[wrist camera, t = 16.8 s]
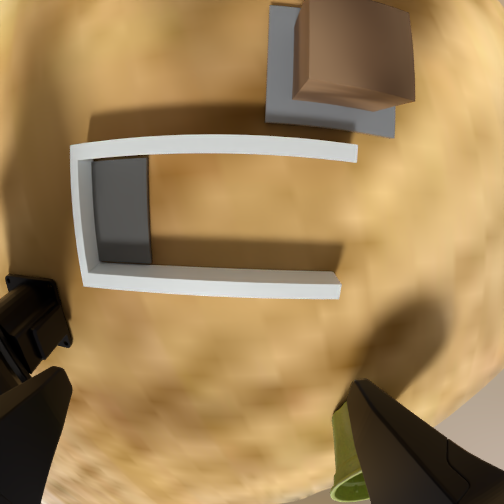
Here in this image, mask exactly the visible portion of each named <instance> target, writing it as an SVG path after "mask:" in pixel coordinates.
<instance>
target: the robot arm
mask: <svg viewBox="0 0 504 504" xmlns="http://www.w3.org/2000/svg"><path fill="white" fill-rule="evenodd" d="M5 280H6V284H7V288H8V291H9V292H8V293H7V294H6V295H4V296H3V297H2V298H1V299H0V504H41V500H42V496H43V492H44V488H45V484H46V481H47V477H48V473H49V470H50V467H51V463H52V460H53V457H54V454H55V451H56V448H57V444H58V442H59V439H60V436H61V433H62V430H63V426H64V422H65V418H66V414H67V410H68V406H69V402H70V399H71V395H72V385H71V383H70V381H69V379H68V376H67V374H66V372H65V370H64V369H63V368H61V367H56V366H52V367H50V368H48V369H46V370H45V371H43V372H41V373H39V374H38V375H36V376H34V377H31V375H30V374H32V373H33V371H34V370H35V369H36V367H37V366H38V365H39V364H40V362H41V361H42V360H46V359H47V357H48V356H49V355H50V354H51V352H52V351H53V350H54V349H55V347H56V346H57V345H58V346H62V347H66V348H70V347H71V345H72V340H71V337H70V333H69V330H68V327H67V324H66V320H65V317H64V313H63V309H62V306H61V302H60V298H59V294H58V290H57V285H56V283H55V281H54V280H52V279H46V278H38V277H30V276H22V275H14V274H8V275H7V276H6V277H5ZM50 285H51V286H52V287H51V286H50ZM29 373H30V374H29ZM347 408H348V413H349V418H350V424H351V430H352V435H353V441H354V446H355V450H356V453H357V456H358V460H359V463H360V466H361V470H362V473H363V477H364V480H365V483H366V487H367V490H368V494H369V497H370V501H371V504H504V471H503V470H501V469H499V468H497V467H495V466H493V465H491V464H489V463H487V462H485V461H483V460H481V459H480V458H478V457H476V456H474V455H473V454H471V453H469V452H467V451H466V450H464V449H463V448H461V447H460V446H458V445H457V444H455V443H454V442H453V441H451V440H450V439H447V437H445V436H444V435H442V434H441V433H440V432H438V431H437V430H436V429H434V428H433V427H431V426H430V425H429V424H427V423H426V422H425V421H423V420H422V419H420V418H419V417H418V416H416V415H415V414H414V413H412V412H411V411H409V410H408V409H407V408H405V407H404V406H403V405H401V404H400V403H399V402H397V401H396V400H395V399H393V398H392V397H391V396H389V395H388V394H387V393H385V392H384V391H383V390H381V389H380V388H379V387H377V386H376V385H375V384H373V383H372V382H371V381H369V380H368V379H365V378H364V379H357V380H354V381H353V382H352V384H351V388H350V391H349V394H348V397H347Z"/></svg>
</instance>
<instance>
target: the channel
mask: <svg viewBox="0 0 504 504" xmlns="http://www.w3.org/2000/svg"><path fill="white" fill-rule="evenodd" d="M357 151H358V145H355V144H348V143H340V142H332V141H324V140H314V139H304V138H292V137H278V136H260V135H227V134H200V135H167V136H149V137H136V138H124V139H114V140H105V141H97V142H89V143H82V144H75V145H70V174H71V194H72V207H73V218H74V228H75V236H76V244H77V251H78V257H79V263H80V269H81V275H82V280H83V285H84V286H86V287H95V288H106V289H117V290H128V291H140V292H153V293H168V294H183V295H201V296H221V297H245V298H280V299H339V296H340V291H341V285H342V284H341V283H340V281H339V280H338V278H337V277H336V275H335V273H334V272H333V271H294V270H262V269H235V268H210V267H187V266H165V265H145V264H127V263H146V264H151V263H152V254H151V240H150V223H149V198H148V158H133V159H118V160H106V161H95V162H94V159H95V158H106V157H118V156H131V155H149V154H175V153H237V154H264V155H281V156H296V157H308V158H319V159H329V160H338V161H347V162H355V163H357ZM101 261H109V262H127V263H109V262H101Z"/></svg>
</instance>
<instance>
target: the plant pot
mask: <svg viewBox="0 0 504 504" xmlns="http://www.w3.org/2000/svg"><path fill="white" fill-rule="evenodd" d="M332 426H333V436H334V450H335V465H336V473H335V475H334V486H333V487H332V488H331V491H330V496H331V498H332V499H333V500H335V501H339V502H356V501H361V500H367V499H370V497H369V494H368V490H367V487H366V483H365V480H364V477H363V473H362V470H361V466H360V463H359V460H358V456H357V453H356V450H355V446H354V441H353V435H352V430H351V424H350V418H349V413H348V408H347V401H346V402H345V403H344V404H343V405H342V407H341V408H340V409H339V410H337V411H335V412H334V414H333V417H332Z"/></svg>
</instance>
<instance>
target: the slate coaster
mask: <svg viewBox="0 0 504 504" xmlns="http://www.w3.org/2000/svg"><path fill="white" fill-rule="evenodd" d="M300 9H301V8H295V7H286V6H274V5H270V7H269V31H268V58H267V84H266V108H265V123H273V124H287V125H299V126H310V127H319V128H328V129H335V130H343V131H350V132H356V133H363V134H368V135H374V136H380V137H385V138H394V135H395V106H393V107H390V108H386V109H382V110H378V111H375V112H371V111H366V110H361V109H356V108H350V107H344V106H338V105H331V104H324V103H317V102H309V101H299V100H292V88H293V57H294V26H295V23H296V20H297V17H298V15H299V12H300Z"/></svg>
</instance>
